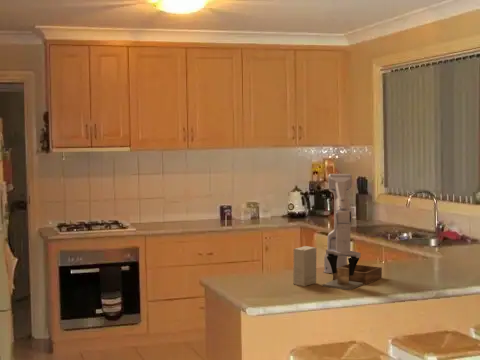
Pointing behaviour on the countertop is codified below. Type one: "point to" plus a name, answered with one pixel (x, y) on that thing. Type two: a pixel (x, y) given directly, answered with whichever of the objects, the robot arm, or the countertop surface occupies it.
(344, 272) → the maple spool
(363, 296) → the countertop surface
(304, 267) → the skincare box
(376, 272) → the walnut crate
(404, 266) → the countertop surface
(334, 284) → the slate tile
